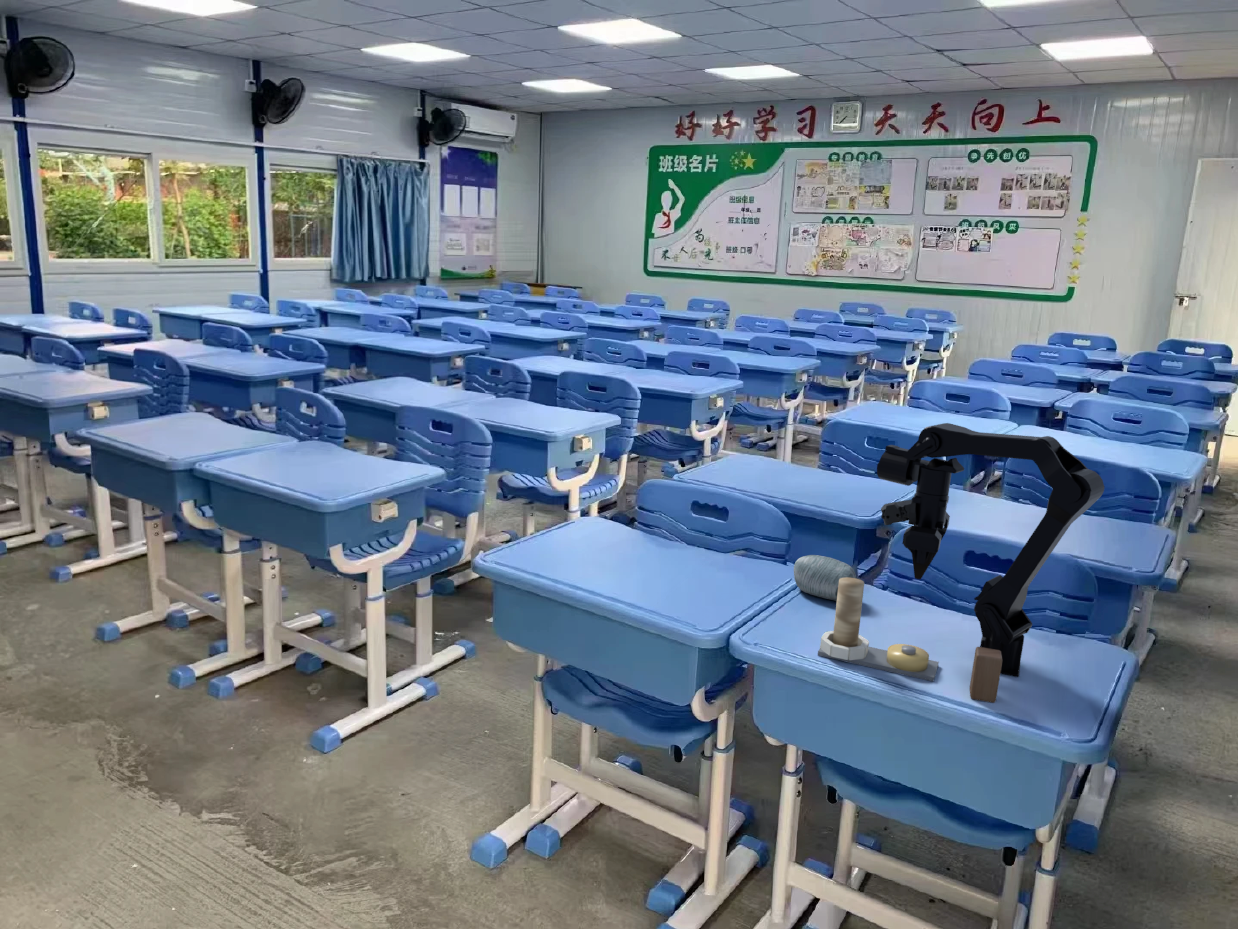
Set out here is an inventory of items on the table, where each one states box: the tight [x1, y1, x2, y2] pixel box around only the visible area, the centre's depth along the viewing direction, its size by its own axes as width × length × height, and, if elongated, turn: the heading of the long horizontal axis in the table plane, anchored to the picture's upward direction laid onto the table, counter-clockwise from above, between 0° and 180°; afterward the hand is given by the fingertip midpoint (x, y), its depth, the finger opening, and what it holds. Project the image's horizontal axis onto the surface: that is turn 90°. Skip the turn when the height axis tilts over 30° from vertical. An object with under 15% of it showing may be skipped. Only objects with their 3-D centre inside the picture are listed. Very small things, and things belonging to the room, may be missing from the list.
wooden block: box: [969, 646, 1002, 704], centre depth 157 cm, size 4×4×8 cm
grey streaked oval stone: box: [793, 554, 857, 602], centre depth 199 cm, size 14×10×10 cm
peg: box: [832, 577, 865, 647], centre depth 169 cm, size 4×4×13 cm
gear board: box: [817, 630, 940, 682], centre depth 168 cm, size 20×8×4 cm, turn 65°
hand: (921, 571), depth 178 cm, fingers open, 9 cm apart
